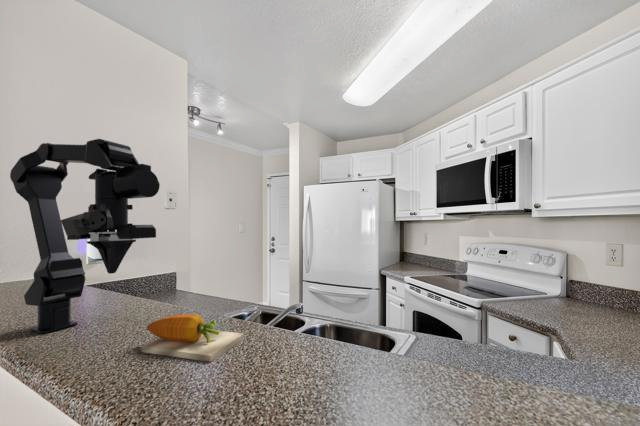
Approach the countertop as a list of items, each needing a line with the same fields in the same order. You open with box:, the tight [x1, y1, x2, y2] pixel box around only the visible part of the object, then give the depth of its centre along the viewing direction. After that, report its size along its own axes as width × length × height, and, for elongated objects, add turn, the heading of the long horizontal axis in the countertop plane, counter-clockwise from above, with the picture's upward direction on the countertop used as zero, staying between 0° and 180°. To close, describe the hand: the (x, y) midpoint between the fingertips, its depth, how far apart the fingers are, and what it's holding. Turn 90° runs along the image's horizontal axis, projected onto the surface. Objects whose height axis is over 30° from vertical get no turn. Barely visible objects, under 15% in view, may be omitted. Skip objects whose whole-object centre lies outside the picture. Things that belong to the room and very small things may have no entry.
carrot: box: [146, 313, 220, 343], centre depth 55 cm, size 5×5×15 cm
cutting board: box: [141, 330, 245, 363], centre depth 55 cm, size 15×10×1 cm, turn 72°
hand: (111, 273), depth 62 cm, fingers closed
